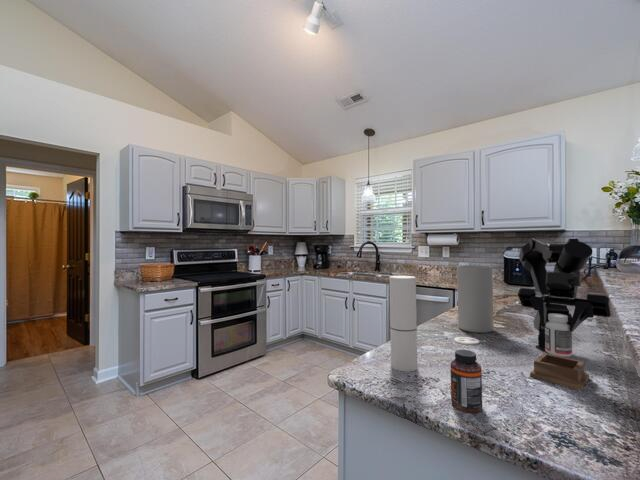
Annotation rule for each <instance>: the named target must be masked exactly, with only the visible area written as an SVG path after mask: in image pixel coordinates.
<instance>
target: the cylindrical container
mask: <svg viewBox="0 0 640 480" xmlns="http://www.w3.org/2000/svg"><path fill="white" fill-rule="evenodd" d="M388 277H389V320H390V321H389V323H390V327H389V328H390V333H389V334H390V338H389V339H390V367H391V368H392V369H393V370H395V371H399V372H415V371H416V370H417V369H418V339H417V338H418V332H417V331H418V330H417V327H418V326H417V321H418V320H417V278H416V276H413V275H390V276H388Z"/></svg>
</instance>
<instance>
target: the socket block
mask: <svg viewBox="0 0 640 480" xmlns="http://www.w3.org/2000/svg"><path fill="white" fill-rule="evenodd" d="M585 364H586V363H585V361H582V360H577V359H573V358H569V357H561V356H555V355H552V354H549V353H547V352H542V353H541V354H540V355H539V356H538V357H537V358H536V359H534V361H533V369H532V370H531V371H530V372H529V377H530V378H534V379H536V380H541V381H545V382H547V383H548V382H549V383H552V384H556V385H559V386H563V387H566V388H570V389H574V390H577V391H582V390H584V389H583V388H584V387H585V385H586V384H587V382H588V380H589V379H590V373H588V372H587V373H586V369H585V367H586V365H585Z"/></svg>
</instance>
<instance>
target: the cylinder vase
mask: <svg viewBox="0 0 640 480" xmlns="http://www.w3.org/2000/svg"><path fill="white" fill-rule="evenodd" d="M456 272H457V273H456V274H457V275H456V278H457V279H456V280H457V316H458V317H457V318H458V319H457V321H458V322H457V323H458V324H457V325H458V328H459V329H461V330H462V331H464V332H468V333H469V332H470V333H475V334H489V333H491V332H493V331H494V329H495V328H494V292H493V291H494V290H493V288H494V287H493V286H494V285H493V266H490V265H477V264H476V265H470V264H469V265H463V264H461V265H457V266H456Z"/></svg>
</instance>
